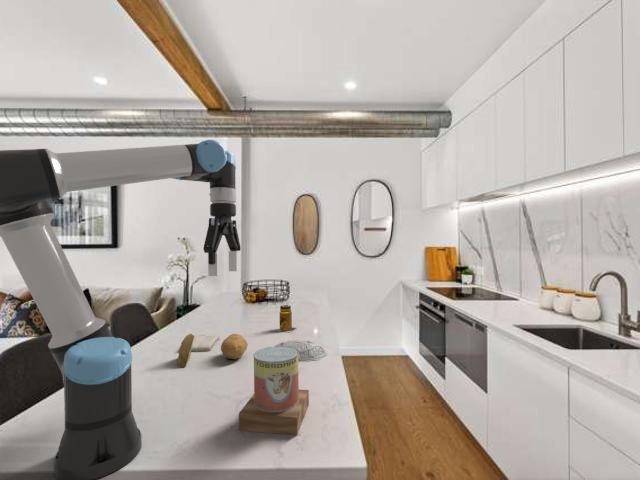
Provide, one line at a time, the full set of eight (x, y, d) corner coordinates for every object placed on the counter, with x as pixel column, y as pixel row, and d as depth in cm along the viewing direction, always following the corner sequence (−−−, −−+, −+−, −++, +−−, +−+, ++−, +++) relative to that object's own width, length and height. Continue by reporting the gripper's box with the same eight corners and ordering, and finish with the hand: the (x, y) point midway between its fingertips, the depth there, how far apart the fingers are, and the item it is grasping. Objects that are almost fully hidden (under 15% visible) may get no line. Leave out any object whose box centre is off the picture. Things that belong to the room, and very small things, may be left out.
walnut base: (297, 435, 76) (297, 417, 76) (239, 430, 78) (238, 413, 78) (308, 404, 90) (308, 390, 90) (259, 401, 92) (258, 387, 92)
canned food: (256, 415, 77) (255, 363, 77) (252, 394, 88) (251, 348, 88) (303, 408, 81) (303, 358, 81) (293, 388, 91) (293, 344, 91)
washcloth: (220, 339, 153) (220, 332, 153) (211, 352, 135) (211, 344, 135) (193, 340, 152) (193, 333, 152) (180, 353, 134) (180, 346, 134)
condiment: (276, 331, 163) (276, 306, 163) (284, 327, 171) (283, 303, 171) (289, 332, 161) (289, 307, 161) (297, 328, 169) (296, 304, 169)
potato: (218, 365, 120) (217, 343, 120) (223, 352, 133) (223, 332, 133) (245, 363, 121) (245, 341, 121) (248, 351, 135) (248, 331, 135)
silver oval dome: (331, 360, 123) (329, 341, 123) (262, 366, 121) (261, 347, 122) (327, 350, 138) (326, 333, 139) (266, 355, 136) (265, 339, 137)
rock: (190, 362, 116) (205, 349, 126) (175, 343, 117) (191, 331, 126) (170, 378, 119) (187, 364, 129) (155, 359, 119) (173, 346, 129)
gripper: (228, 207, 114) (229, 269, 114) (189, 198, 89) (190, 278, 89) (249, 206, 113) (250, 269, 113) (215, 198, 88) (216, 278, 88)
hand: (224, 273), depth 101 cm, fingers open, 13 cm apart
